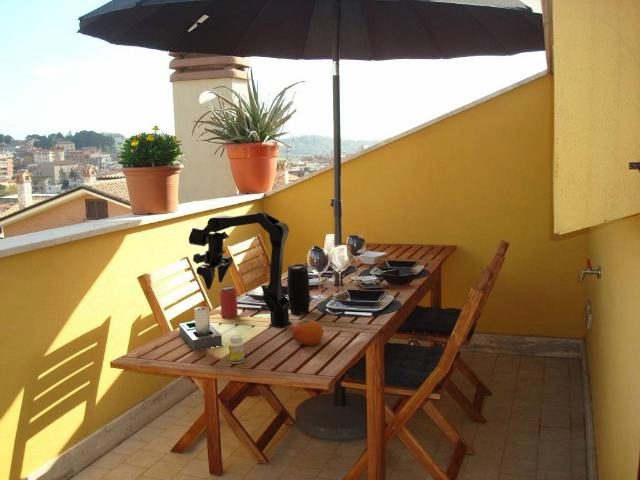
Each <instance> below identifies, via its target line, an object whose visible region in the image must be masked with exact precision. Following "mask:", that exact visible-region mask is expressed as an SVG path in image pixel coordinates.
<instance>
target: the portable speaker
mask: <svg viewBox="0 0 640 480" xmlns="http://www.w3.org/2000/svg"><path fill="white" fill-rule="evenodd" d="M286 280H287V281H286V283H287V299H288V300H289V301H290V304H289V306H288V307H289V308H288V309H289V312H290V313H291V314H292V315H294V316H300V315H301V314H302V313H303V314H304V313H306V314H309V313H310V301H311V300H310V299H311V297H310V278H309V271H308V267H307V266H306V265H305V264H303V263H296V264H294V265H288V266H287V279H286Z"/></svg>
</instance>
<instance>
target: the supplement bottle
mask: <svg viewBox="0 0 640 480" xmlns="http://www.w3.org/2000/svg"><path fill="white" fill-rule="evenodd" d="M228 341H229V343H228V353H229V354H228V355H229V362H230V363H231V362H232V363H231V364H241V362H242V363H244V362H245V348H244V341H243V337H242V335H241V334H231V335H230V336H229V337H228Z"/></svg>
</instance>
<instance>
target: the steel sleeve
mask: <svg viewBox="0 0 640 480" xmlns="http://www.w3.org/2000/svg"><path fill="white" fill-rule="evenodd" d="M193 312H194V321H195V327H196V337H201V336H207V335H210V325H211V323H210V309H209V307H208V306H199V307H195V308H194V309H193Z"/></svg>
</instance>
